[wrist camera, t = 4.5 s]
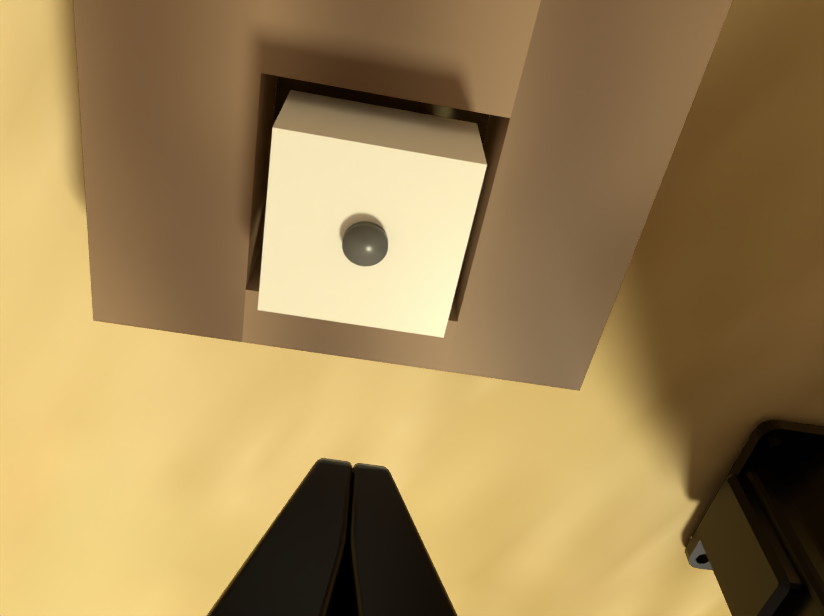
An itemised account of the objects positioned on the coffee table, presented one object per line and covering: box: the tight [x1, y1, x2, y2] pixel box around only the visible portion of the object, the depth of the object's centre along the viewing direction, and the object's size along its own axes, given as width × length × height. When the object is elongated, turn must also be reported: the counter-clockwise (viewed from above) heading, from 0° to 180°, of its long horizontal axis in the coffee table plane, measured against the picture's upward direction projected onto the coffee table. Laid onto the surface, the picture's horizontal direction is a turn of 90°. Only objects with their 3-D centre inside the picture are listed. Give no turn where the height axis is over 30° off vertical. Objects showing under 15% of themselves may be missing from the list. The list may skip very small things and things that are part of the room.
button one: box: [258, 90, 487, 338], centre depth 15 cm, size 4×4×3 cm
